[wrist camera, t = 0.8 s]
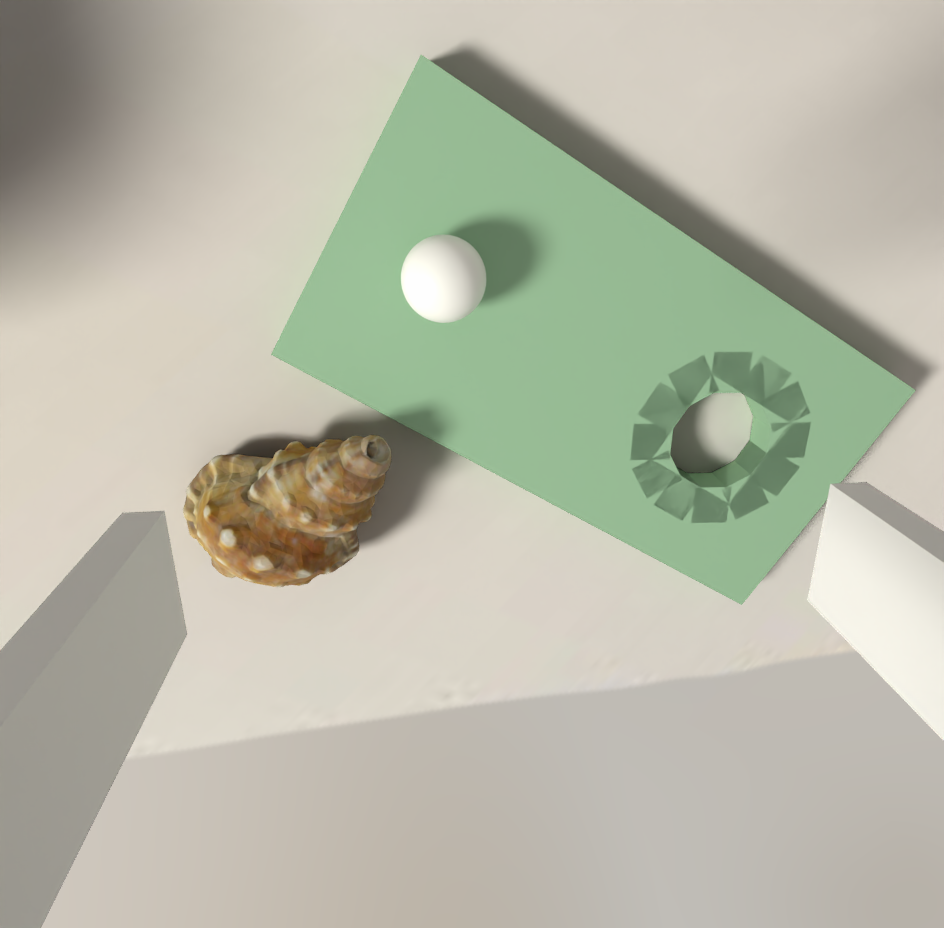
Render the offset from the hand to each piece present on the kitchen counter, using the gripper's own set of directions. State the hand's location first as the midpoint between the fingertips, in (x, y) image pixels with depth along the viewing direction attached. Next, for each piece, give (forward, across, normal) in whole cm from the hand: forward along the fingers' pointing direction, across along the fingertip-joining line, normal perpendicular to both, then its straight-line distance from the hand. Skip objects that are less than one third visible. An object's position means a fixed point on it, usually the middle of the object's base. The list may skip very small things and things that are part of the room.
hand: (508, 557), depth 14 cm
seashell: (+22, -8, -7) cm, 25 cm away
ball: (+18, 0, +3) cm, 18 cm away
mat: (+22, +7, -1) cm, 23 cm away
